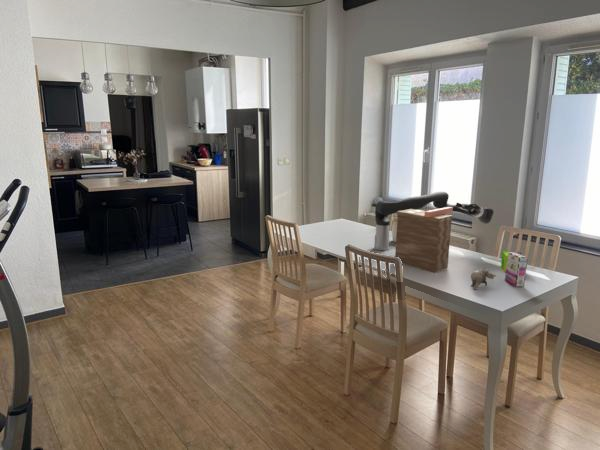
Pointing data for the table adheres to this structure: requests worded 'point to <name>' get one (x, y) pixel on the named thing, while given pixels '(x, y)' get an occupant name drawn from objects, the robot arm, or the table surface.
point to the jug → (394, 229)
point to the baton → (438, 211)
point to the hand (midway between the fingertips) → (463, 204)
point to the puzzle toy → (505, 260)
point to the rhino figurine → (480, 277)
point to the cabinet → (423, 239)
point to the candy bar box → (516, 269)
